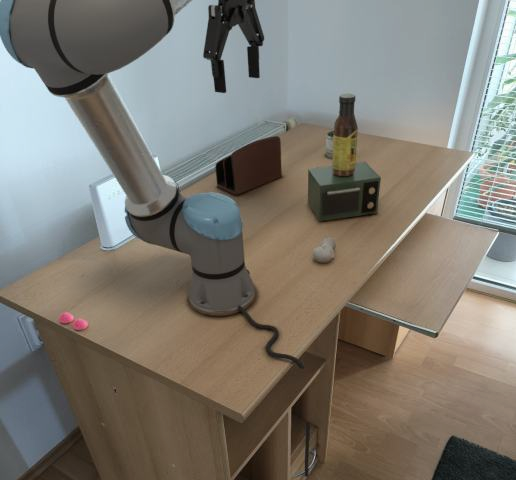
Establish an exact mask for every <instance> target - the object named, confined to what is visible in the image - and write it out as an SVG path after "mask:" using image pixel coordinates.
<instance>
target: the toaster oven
mask: <svg viewBox="0 0 516 480" xmlns="http://www.w3.org/2000/svg"><path fill="white" fill-rule="evenodd" d="M332 170H333V167H332V165H329V166H322V167H314V168H313V167H312V168H308V169H307V204H308V206H309V208H310V209H311V211H312V212H313V214H314V215H315V217H316V219H317V220H318V222H321V223H325V222H327V221H331V220H337V219H345V218H352V217H358V216H359V217H361V216H366V215H368V216H373V215H375V214H378V207H379V199H380V189H381V181H382V178H381V176H380V175H379V173H377V172H376V170H374V169H373V168H372V167H371V166H370V165H369V163H367V161H358V162H355V170H354V173H353V174H352V175H350V176H346V177H343V176H342V177H341V176H336V175H334V174H333V171H332Z"/></svg>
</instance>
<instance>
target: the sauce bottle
mask: <svg viewBox="0 0 516 480" xmlns="http://www.w3.org/2000/svg"><path fill="white" fill-rule="evenodd" d="M338 102H339V111H338V114H339V115H338V116H337V117H336V119H335V122H334V126H333V131H334V136H333V158H332V163H331V164H332V165H331V166H332V167H333V170H332V171H333V174H334V175H336V176H341V177H342V176H343V177H346V176H350V175H352V174H353V173H354V170H355V163H357V162H356V160H357V146H358V145H357V144H358V133H359V132H358V131H359V130H358V129H359V127H358V124H357V120H356V115H355V102H356V95H355V94H353V93H343V94H340V95H339V97H338Z"/></svg>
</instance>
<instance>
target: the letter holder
mask: <svg viewBox="0 0 516 480" xmlns="http://www.w3.org/2000/svg"><path fill="white" fill-rule="evenodd" d="M281 144H282V143H281V138H280V136H278V135H274V136H268V137H264V138H261V139H258V140H254V141H251V142H250V143H247V144H245V145H242V146H241V147H239V148H237V149H235V150H234V151H232V153H231V154H230V155H227V156H226V157H223V158H222V159H219V160H218V161H217V162H216V163H215V166H214V167H215V168H214V169H215V177H216V187H217V188H219V189H221V190H223V191H225V192H228V193H229V194H232V195H234V196H238V195H241V194H244V193H246V192H247V191H250V190H253V189H255V188H257V187H261V186H262V185H265V184H267V183H271V182H272V181H275V180H278V179H279V178H282V176H283V172H282V170H283V169H282V145H281Z"/></svg>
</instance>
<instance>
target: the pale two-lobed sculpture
mask: <svg viewBox="0 0 516 480" xmlns="http://www.w3.org/2000/svg"><path fill="white" fill-rule="evenodd" d="M336 247H337V244H336V241H335V239H334V238H333V237H326V238H324V239H323V240H322V242H321V245H320V246H318V247H315V248H314V249H313V251H312V257H313V259H314V260H315V261H316V262H318V263H322V264H325V263H329V262H330V261H331V260H333V259H334V258H335V249H336Z"/></svg>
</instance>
